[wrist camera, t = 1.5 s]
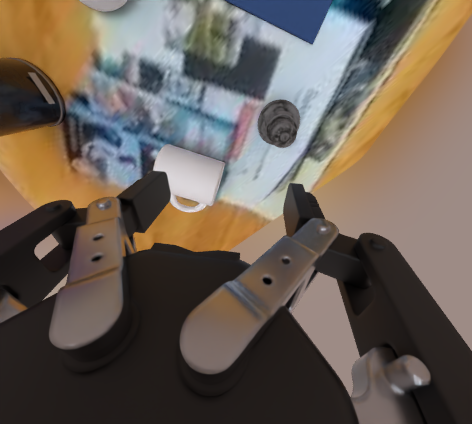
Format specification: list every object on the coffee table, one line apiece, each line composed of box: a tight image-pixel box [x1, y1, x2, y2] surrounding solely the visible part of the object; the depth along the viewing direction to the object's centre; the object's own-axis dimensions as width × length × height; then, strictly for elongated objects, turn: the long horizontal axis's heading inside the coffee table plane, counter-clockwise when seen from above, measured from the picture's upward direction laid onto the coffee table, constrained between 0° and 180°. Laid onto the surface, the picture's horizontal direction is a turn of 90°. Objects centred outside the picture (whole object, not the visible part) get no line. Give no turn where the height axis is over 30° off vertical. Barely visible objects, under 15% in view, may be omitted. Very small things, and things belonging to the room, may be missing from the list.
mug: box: [153, 144, 225, 212], centre depth 33 cm, size 12×10×8 cm
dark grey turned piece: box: [258, 100, 300, 148], centre depth 24 cm, size 6×6×12 cm
